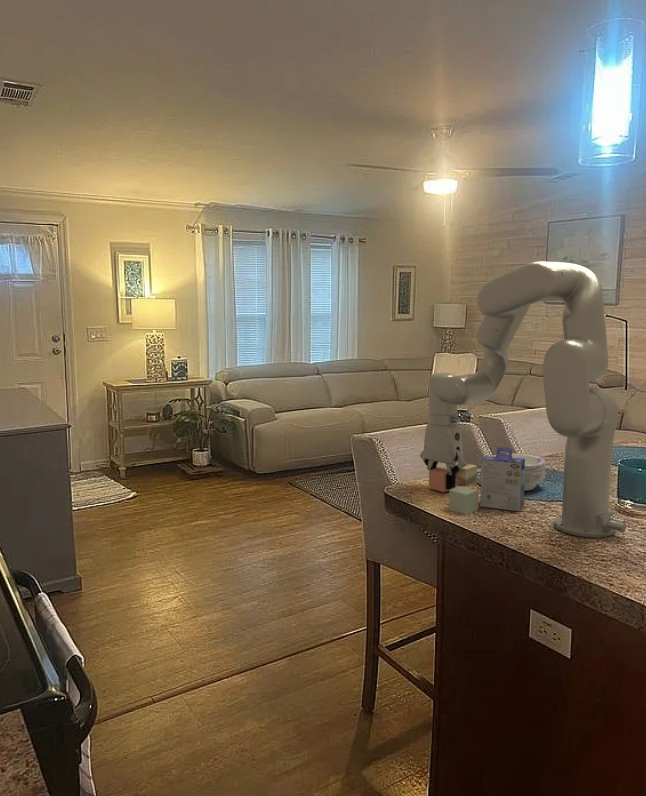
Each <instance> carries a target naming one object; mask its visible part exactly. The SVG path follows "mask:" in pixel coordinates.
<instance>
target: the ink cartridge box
mask: <svg viewBox="0 0 646 796" xmlns="http://www.w3.org/2000/svg"><path fill="white" fill-rule="evenodd" d="M500 452H508V453H500ZM512 454H513V448H507V447H497V450H496V453H495V455H496V456H493V455H485V456H484V457H483V458H482V459H481V470H480V471H481V472H480V473H481V475H480V476H481V477H480V502H479V506H480V507H483V508H484V507H485V508H491V509H499V510H507V511H516V512H521V510H522V509H523V508H524V503H525V501H524V500H525V498H524V497H525V491H524V480H525V458H513V457H512Z"/></svg>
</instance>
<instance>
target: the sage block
mask: <svg viewBox="0 0 646 796" xmlns="http://www.w3.org/2000/svg"><path fill="white" fill-rule="evenodd" d="M448 495H449V496H448V510H449V511H452V512H456V513H459V512H460V513H459V514H463V515H468V514H470V513H474V512H476V511H478V510H479V496H480V495H479V490H478V489H474V488H471V487H467V486H462V485H459V486H457V487H455V488H454V489H451V490H448ZM473 511H474V512H473Z"/></svg>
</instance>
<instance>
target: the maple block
mask: <svg viewBox="0 0 646 796" xmlns="http://www.w3.org/2000/svg"><path fill="white" fill-rule="evenodd" d="M457 464H458V463H456V465H457ZM451 467H452V465H451ZM477 469H478V468H477V465H475V464H470V463H466V465H465V466H464V467H462V468H461V469H460V470H459V471H458V473H456V484H455V485H458V486H464V487H467V486H471V485H474V484H476V483H477Z"/></svg>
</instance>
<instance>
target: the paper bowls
mask: <svg viewBox="0 0 646 796" xmlns="http://www.w3.org/2000/svg"><path fill="white" fill-rule="evenodd" d="M492 456H496V454H494V455H492ZM512 457H513V458H525V480H524V492H527V491H528V492H529V491H531V490H534V489H535V488H536V487H537V485H538V483H539V482H541V481H544V480H545V478H546V465H547V464H546V460H545V459H544V458H543V457H539V456H535V455H531V454H527V453H525V454H523V453H512Z"/></svg>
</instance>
